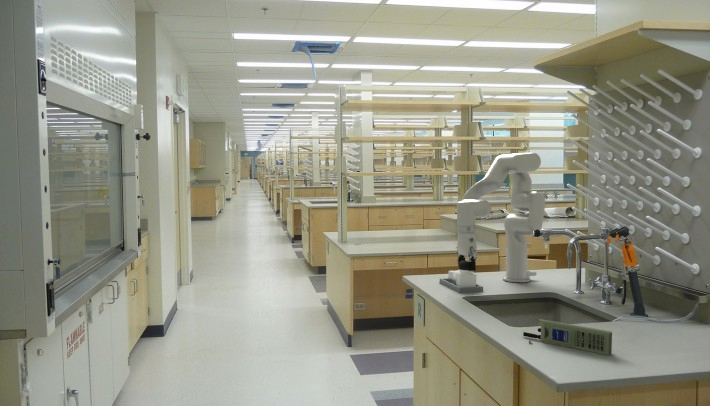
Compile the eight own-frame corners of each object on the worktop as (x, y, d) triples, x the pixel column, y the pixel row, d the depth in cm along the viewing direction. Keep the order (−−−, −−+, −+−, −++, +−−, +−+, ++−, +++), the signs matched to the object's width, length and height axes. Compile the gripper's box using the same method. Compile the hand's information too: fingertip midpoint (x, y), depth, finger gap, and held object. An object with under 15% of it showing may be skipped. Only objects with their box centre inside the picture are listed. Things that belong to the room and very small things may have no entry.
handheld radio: (609, 357, 144) (521, 339, 160) (612, 354, 147) (525, 337, 162) (610, 333, 144) (521, 317, 160) (613, 330, 146) (525, 315, 162)
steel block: (458, 283, 239) (458, 270, 238) (463, 285, 234) (463, 272, 234) (448, 283, 238) (448, 270, 237) (452, 286, 233) (453, 272, 232)
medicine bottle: (476, 290, 223) (476, 262, 222) (459, 291, 222) (459, 263, 222) (471, 287, 230) (472, 260, 229) (455, 287, 230) (455, 260, 229)
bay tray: (461, 282, 242) (461, 277, 242) (483, 292, 222) (483, 286, 222) (439, 284, 240) (439, 278, 240) (459, 294, 219) (459, 288, 219)
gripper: (483, 231, 217) (484, 271, 218) (465, 226, 234) (465, 264, 235) (467, 232, 215) (467, 273, 217) (449, 227, 232) (450, 265, 233)
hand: (466, 268), depth 226 cm, fingers open, 9 cm apart
